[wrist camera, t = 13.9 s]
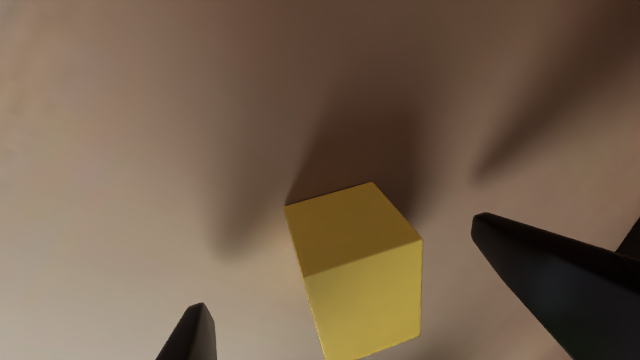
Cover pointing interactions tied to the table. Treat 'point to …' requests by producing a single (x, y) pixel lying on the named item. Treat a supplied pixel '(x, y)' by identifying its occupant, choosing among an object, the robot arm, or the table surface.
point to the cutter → (632, 243)
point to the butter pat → (358, 270)
